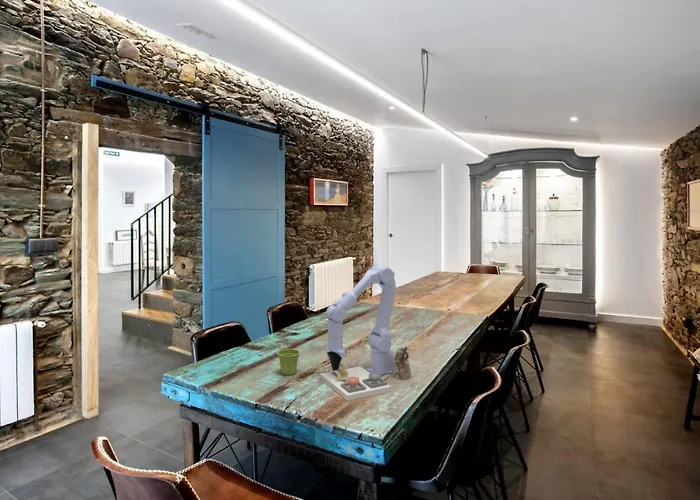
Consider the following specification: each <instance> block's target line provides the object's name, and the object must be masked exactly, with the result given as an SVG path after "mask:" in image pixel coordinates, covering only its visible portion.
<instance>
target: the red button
mask: <svg viewBox="0 0 700 500" xmlns="http://www.w3.org/2000/svg"><path fill="white" fill-rule="evenodd" d="M347 384H348V385H349V386H357V385H359V378H358V377H349V378H347Z"/></svg>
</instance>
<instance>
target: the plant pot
mask: <svg viewBox="0 0 700 500" xmlns="http://www.w3.org/2000/svg"><path fill="white" fill-rule="evenodd" d="M276 354H277V357H278V359H279V366H280V373H281V374H282V375H285V376H292V375H294V374H296V373H297V368H298V359H299V356H300V354H301V351H300V350H299V349H296V348H284V349H280V350H278V351H277V352H276Z"/></svg>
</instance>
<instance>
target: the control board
mask: <svg viewBox="0 0 700 500" xmlns="http://www.w3.org/2000/svg"><path fill="white" fill-rule="evenodd" d="M345 370H346V371H347V372H348V378H349V377H358V378H359V385H357V386H349V385H348V384H347V380H342V381H340V380H339V379H338V378H337V371H338V370H336V371H333V370H332V371H327V372H323V373H320V374H319V375H320V380H321V381H323V382H324V383H325V384H326V385H327V386H329V388H331V389H332V390H334V391H335V393H337V394H338V395H339V396H340V397H342V398H343V399H344V400H345V401H347V402H349V401H350V402H351V401H353V400H359V399H363V398H367V397H373V396H377V395H381V394H382V395H383V394H386V393H387V394H388V393H391V392H392V386H391V385H389V384H388V382H387V381H386V380H384V379H382V378H381V380H380V381H377V382H373V381H370V380H369V374H370V373H371V372H370V371H368V370H367V369H365V368H363V367H362V366H356V367H351V368H345Z"/></svg>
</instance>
